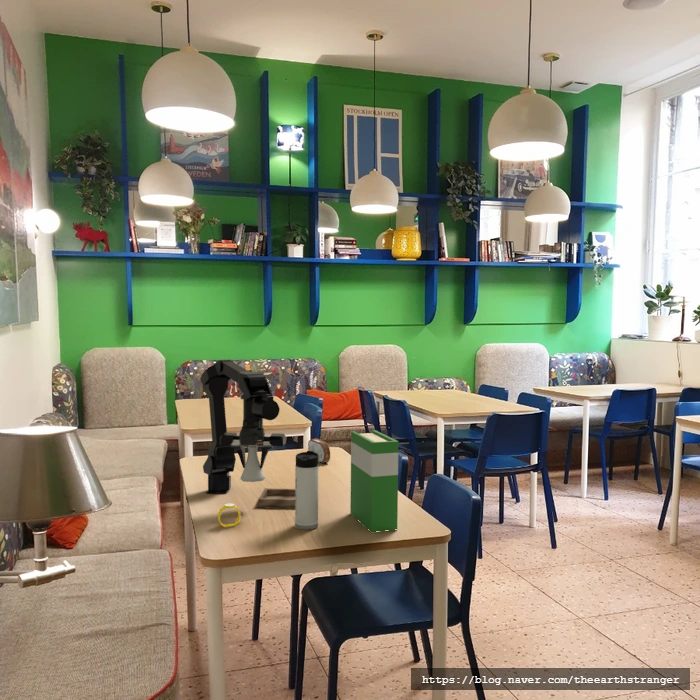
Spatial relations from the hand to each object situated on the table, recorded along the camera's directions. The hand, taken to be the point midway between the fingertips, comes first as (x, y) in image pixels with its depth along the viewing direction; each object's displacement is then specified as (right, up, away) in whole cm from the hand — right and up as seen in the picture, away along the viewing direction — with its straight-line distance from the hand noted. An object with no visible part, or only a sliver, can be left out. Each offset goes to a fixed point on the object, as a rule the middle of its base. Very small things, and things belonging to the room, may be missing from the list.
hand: (252, 468), depth 185 cm
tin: (+16, -9, +63) cm, 66 cm away
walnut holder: (+8, -12, +7) cm, 15 cm away
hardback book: (+35, -13, -11) cm, 39 cm away
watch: (-4, -13, -16) cm, 21 cm away
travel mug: (+17, -13, -16) cm, 27 cm away
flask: (0, -4, 0) cm, 4 cm away
